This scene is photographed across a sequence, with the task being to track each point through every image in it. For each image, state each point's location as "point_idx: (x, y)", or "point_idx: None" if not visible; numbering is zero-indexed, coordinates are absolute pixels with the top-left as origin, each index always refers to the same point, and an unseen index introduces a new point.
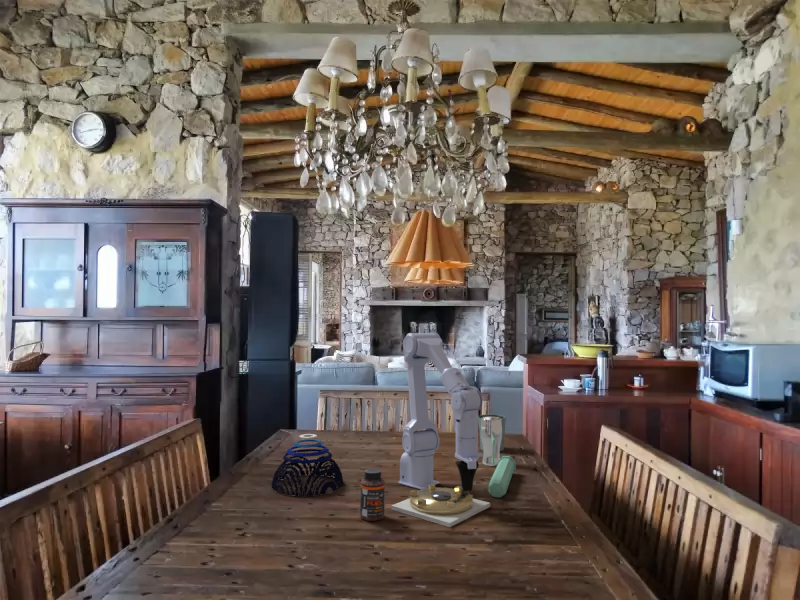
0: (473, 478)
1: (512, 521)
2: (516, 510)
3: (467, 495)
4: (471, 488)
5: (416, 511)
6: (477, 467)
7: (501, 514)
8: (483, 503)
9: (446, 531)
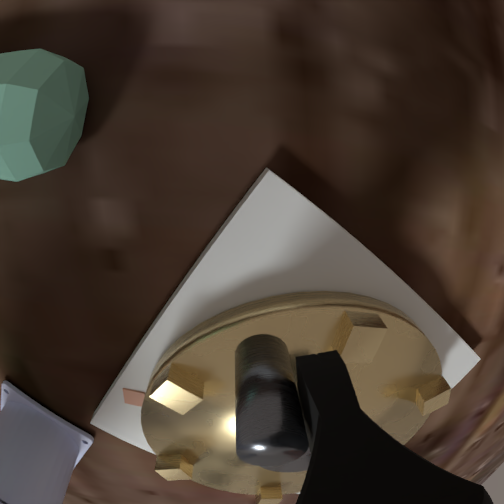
0: (363, 413)
1: (469, 95)
2: (322, 16)
3: (355, 355)
4: (341, 362)
5: None
6: (480, 486)
7: (393, 120)
8: (285, 218)
9: (489, 352)
